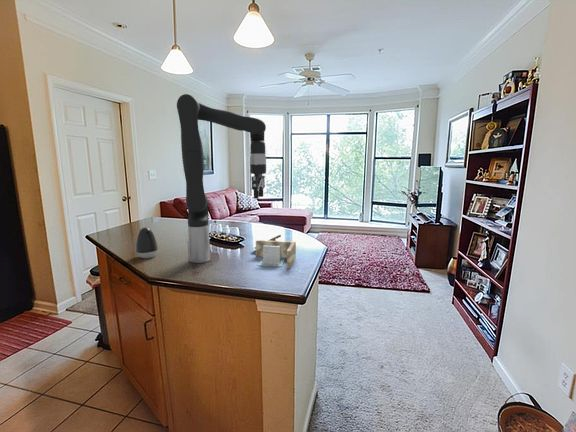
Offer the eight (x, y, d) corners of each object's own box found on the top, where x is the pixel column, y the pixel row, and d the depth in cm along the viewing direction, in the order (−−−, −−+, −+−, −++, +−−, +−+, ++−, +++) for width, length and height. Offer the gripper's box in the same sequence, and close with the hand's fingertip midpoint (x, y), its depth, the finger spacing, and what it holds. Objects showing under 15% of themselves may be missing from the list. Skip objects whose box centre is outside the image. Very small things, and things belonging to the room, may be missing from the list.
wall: (261, 261, 150) (283, 243, 149) (250, 248, 151) (272, 230, 149) (268, 257, 167) (287, 240, 165) (258, 245, 167) (278, 228, 166)
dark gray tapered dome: (141, 261, 139) (138, 230, 137) (133, 257, 146) (130, 227, 144) (162, 256, 146) (159, 227, 144) (153, 252, 153) (151, 224, 151)
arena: (246, 266, 131) (246, 249, 130) (256, 255, 148) (256, 240, 146) (290, 268, 128) (290, 251, 127) (295, 257, 144) (295, 241, 143)
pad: (257, 265, 132) (257, 265, 132) (262, 259, 141) (262, 259, 141) (281, 266, 130) (281, 266, 130) (284, 260, 139) (284, 260, 139)
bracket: (280, 262, 136) (280, 246, 134) (278, 266, 131) (278, 249, 129) (264, 261, 137) (263, 245, 136) (261, 265, 132) (260, 248, 131)
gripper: (254, 163, 146) (255, 196, 148) (245, 163, 132) (246, 198, 134) (269, 163, 144) (269, 196, 147) (261, 163, 130) (262, 199, 133)
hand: (258, 197), depth 141 cm, fingers open, 8 cm apart
